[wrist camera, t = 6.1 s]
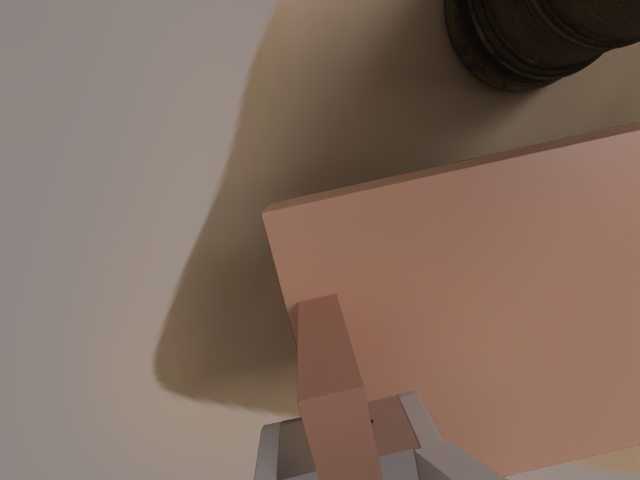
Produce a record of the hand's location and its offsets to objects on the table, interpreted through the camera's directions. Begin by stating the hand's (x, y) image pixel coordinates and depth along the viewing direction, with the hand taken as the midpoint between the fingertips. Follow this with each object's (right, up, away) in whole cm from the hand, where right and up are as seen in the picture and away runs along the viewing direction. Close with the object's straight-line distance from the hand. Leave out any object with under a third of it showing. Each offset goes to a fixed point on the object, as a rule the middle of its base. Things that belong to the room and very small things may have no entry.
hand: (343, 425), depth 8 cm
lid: (+6, +2, +4) cm, 8 cm away
